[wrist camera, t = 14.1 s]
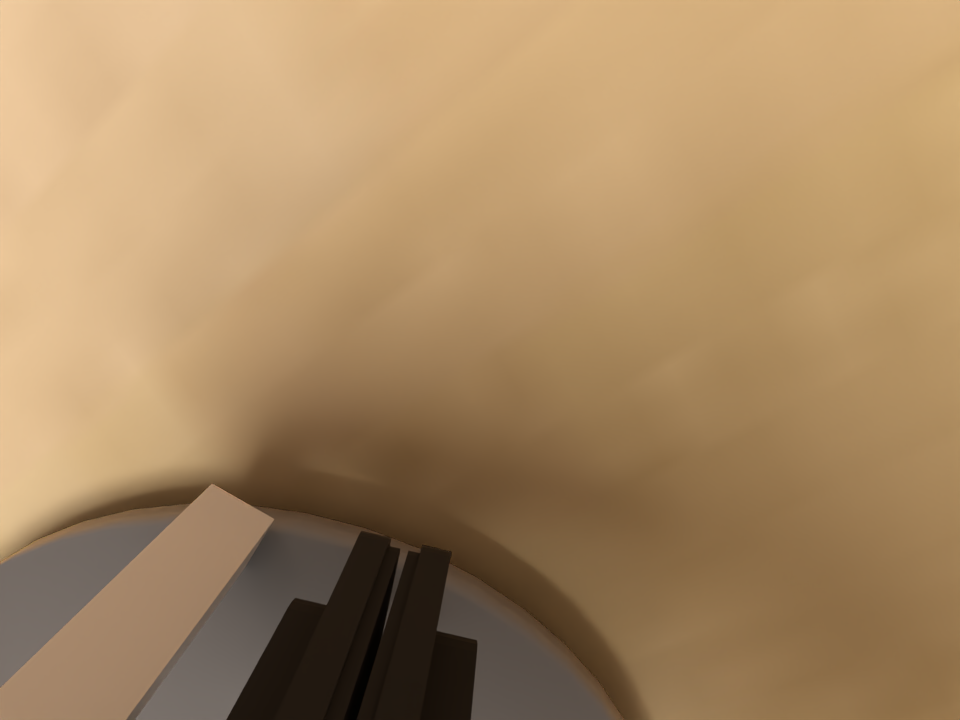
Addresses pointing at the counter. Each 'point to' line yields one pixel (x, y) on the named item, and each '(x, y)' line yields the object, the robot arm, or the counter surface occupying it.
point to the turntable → (229, 617)
